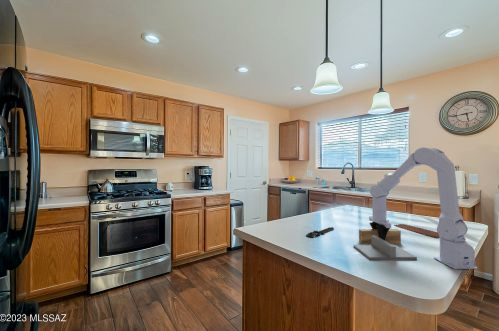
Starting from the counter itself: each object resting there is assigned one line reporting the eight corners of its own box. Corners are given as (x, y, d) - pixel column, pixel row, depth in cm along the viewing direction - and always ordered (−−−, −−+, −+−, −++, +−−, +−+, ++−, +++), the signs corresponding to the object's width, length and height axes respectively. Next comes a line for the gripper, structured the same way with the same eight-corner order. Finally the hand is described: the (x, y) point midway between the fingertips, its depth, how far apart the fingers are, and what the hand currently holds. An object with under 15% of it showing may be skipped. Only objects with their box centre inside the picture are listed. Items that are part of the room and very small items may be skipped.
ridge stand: (416, 259, 88) (416, 246, 88) (369, 259, 88) (369, 246, 88) (394, 246, 102) (393, 235, 102) (353, 247, 102) (353, 235, 102)
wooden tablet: (451, 238, 115) (451, 234, 115) (436, 239, 113) (436, 236, 113) (403, 224, 141) (403, 222, 141) (390, 225, 138) (390, 223, 138)
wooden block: (400, 243, 106) (400, 230, 106) (361, 243, 107) (361, 231, 107) (397, 241, 109) (396, 229, 109) (359, 241, 109) (358, 229, 109)
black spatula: (331, 228, 135) (331, 225, 135) (341, 230, 129) (341, 228, 129) (302, 236, 120) (302, 233, 120) (312, 239, 114) (312, 236, 114)
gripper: (398, 213, 101) (398, 244, 101) (378, 207, 115) (379, 234, 115) (382, 213, 101) (382, 244, 101) (364, 207, 115) (365, 234, 115)
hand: (379, 239), depth 108 cm, fingers open, 3 cm apart
